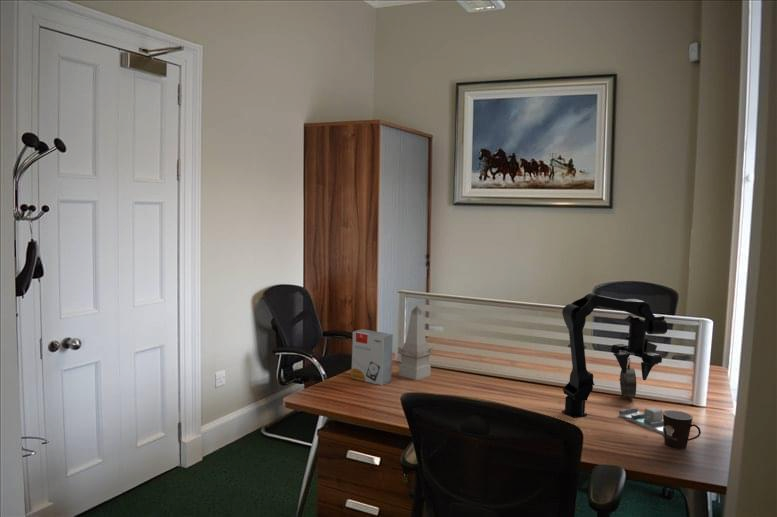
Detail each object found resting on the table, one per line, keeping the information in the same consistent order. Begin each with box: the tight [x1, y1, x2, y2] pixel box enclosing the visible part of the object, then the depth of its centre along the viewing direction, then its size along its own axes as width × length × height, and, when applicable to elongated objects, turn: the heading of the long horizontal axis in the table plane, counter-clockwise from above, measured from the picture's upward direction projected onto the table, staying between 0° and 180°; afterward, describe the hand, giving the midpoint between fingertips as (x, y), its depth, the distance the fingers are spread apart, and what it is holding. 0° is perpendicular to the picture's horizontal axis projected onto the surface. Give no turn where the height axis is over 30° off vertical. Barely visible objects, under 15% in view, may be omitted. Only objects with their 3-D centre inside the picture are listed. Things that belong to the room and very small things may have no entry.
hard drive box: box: [350, 328, 394, 386], centre depth 265 cm, size 16×8×20 cm, turn 58°
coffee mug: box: [662, 409, 702, 450], centre depth 203 cm, size 12×9×10 cm
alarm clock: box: [619, 357, 637, 403], centre depth 250 cm, size 11×5×16 cm, turn 168°
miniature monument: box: [397, 306, 434, 381], centre depth 273 cm, size 10×10×30 cm
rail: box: [618, 407, 664, 436], centre depth 223 cm, size 8×20×2 cm, turn 27°
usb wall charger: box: [641, 407, 664, 422], centre depth 223 cm, size 4×7×4 cm, turn 120°
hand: (634, 376), depth 235 cm, fingers open, 9 cm apart
